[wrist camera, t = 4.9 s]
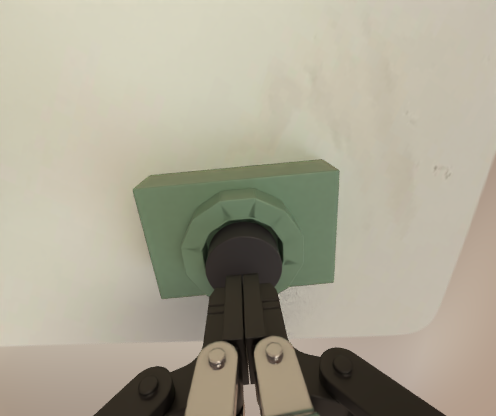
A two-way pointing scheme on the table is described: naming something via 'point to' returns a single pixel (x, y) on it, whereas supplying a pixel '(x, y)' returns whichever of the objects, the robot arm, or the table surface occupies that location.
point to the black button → (243, 254)
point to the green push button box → (240, 220)
